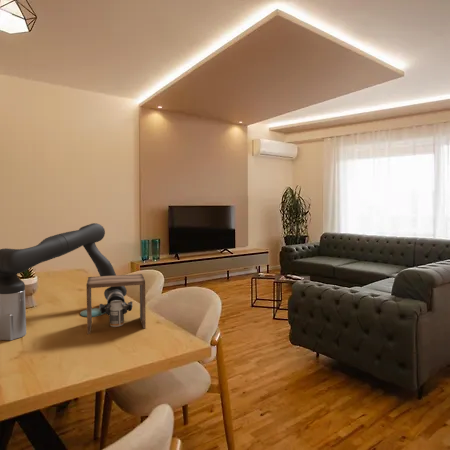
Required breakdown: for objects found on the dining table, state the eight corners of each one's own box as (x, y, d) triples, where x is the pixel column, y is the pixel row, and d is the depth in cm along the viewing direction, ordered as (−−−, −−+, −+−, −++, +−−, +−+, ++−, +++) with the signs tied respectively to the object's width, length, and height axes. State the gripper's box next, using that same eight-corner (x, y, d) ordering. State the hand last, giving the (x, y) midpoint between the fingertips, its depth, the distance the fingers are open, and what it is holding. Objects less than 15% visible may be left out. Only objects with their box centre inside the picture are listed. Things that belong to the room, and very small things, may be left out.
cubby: (145, 328, 143) (145, 280, 142) (87, 334, 136) (86, 284, 135) (142, 317, 156) (142, 274, 155) (89, 322, 149) (88, 277, 148)
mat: (99, 317, 156) (99, 316, 156) (75, 316, 157) (75, 315, 157) (110, 309, 167) (110, 308, 167) (88, 308, 168) (87, 307, 168)
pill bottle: (118, 321, 151) (118, 298, 150) (126, 324, 147) (126, 301, 146) (106, 325, 146) (106, 301, 146) (114, 328, 143) (114, 304, 142)
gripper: (99, 294, 157) (97, 304, 141) (132, 292, 162) (134, 302, 146) (99, 310, 158) (98, 323, 142) (132, 308, 162) (134, 319, 146)
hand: (116, 312), depth 144 cm, fingers closed on pill bottle, 5 cm apart
